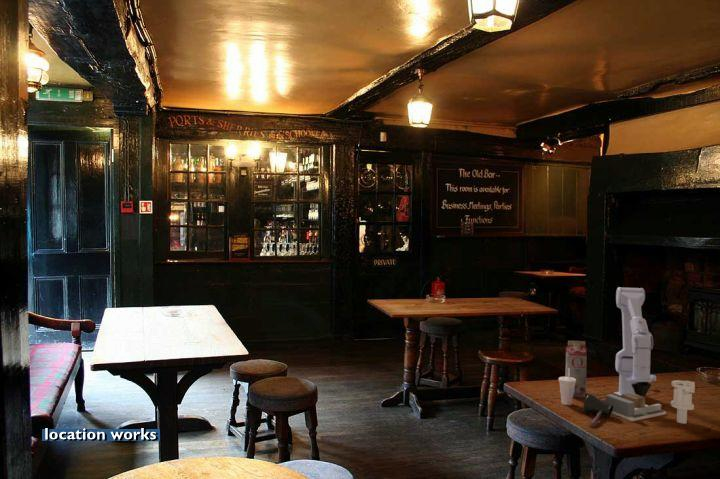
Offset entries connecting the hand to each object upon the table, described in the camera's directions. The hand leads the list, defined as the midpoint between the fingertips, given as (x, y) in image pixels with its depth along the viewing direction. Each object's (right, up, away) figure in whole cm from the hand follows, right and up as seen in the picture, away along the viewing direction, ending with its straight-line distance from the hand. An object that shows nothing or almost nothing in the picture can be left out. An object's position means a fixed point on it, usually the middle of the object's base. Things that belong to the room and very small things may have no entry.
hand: (640, 401), depth 205 cm
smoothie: (-25, -3, +7) cm, 26 cm away
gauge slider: (-3, -2, -3) cm, 5 cm away
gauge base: (-3, -3, -1) cm, 5 cm away
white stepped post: (+9, -4, -11) cm, 15 cm away
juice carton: (-17, -3, +19) cm, 25 cm away
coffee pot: (-22, -4, -9) cm, 24 cm away
